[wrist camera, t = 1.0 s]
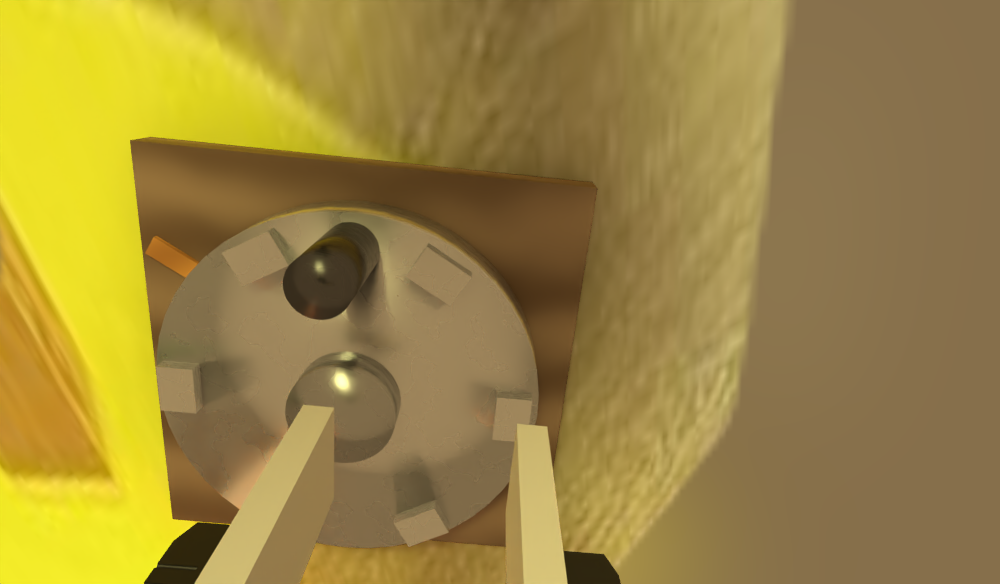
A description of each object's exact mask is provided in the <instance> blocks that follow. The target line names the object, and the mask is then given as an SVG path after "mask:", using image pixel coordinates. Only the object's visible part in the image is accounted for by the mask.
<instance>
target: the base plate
mask: <svg viewBox="0 0 1000 584" xmlns="http://www.w3.org/2000/svg"><path fill="white" fill-rule="evenodd" d="M130 144H131V153H132V161H133V170H134V179H135V188H136V197H137V206H138V215H139V224H140V233H141V241H142V250H143V259H144V268H145V277H146V286H147V295H148V304H149V312H150V321H151V330H152V339H153V348H154V357H155V366H157V363H156V358H157V349H158V340H159V335H160V331H161V328H162V324H163V320H164V317H165V314H166V312H167V310H168V308H169V305H170V303H171V301H172V299H173V297H174V295H175V293H176V292H177V290H178V289H179V287H180V286H181V284H182V283H183V281H184V280H185V278H186V277H187V275H188V274H189V273H190V272H191V271H192V270H193V269H194V268H195V267H196V266H197V264H198V263H199V262H200V261H201V260H202V259H203V258H204V257H205V256H207V255H208V254H209V253H210V252H212V251H213V250H214V249H216V248H217V247H218V246H219V245H221V244H222V243H223V242H225V241H227V240H228V239H230V238H232V237H233V236H235V235H237V234H238V233H240V232H242V231H244V230H245V229H247V228H249V227H250V226H252V225H254V224H256V223H258V222H259V221H261V220H263V219H265V218H266V217H269V216H271V215H274V214H276V213H279V212H282V211H284V210H287V209H289V208H293V207H297V206H302V205H306V204H310V203H315V202H325V201H336V200H348V201H367V202H373V203H379V204H385V205H391V206H394V207H397V208H401V209H404V210H408V211H411V212H414V213H417V214H419V215H421V216H424V217H426V218H428V219H430V220H433V221H435V222H437V223H439V224H441V225H442V226H444V227H446V228H447V229H449V230H451V231H452V232H454V233H456V234H457V235H459V236H461V237H462V238H463V239H464V240H466V241H467V242H468V243H469V244H471V245H472V246H473V247H474V248H476V249H477V250H478V251H479V252H480V253H481V254H482V255H483V256H484V257H485V258H486V259H487V260H488V261H489V262H490V263H491V264H492V265H493V266H494V267H495V268H496V269H497V270H498V272H499V273H500V274H501V276H502V277H503V278H504V280H505V281H506V282H507V284H508V285H509V286H510V288H511V290H512V291H513V293H514V295H515V297H516V298H517V300H518V302H519V304H520V306H521V308H522V310H523V313H524V315H525V318H526V320H527V323H528V326H529V328H530V333H531V337H532V341H533V346H534V351H535V359H536V368H537V378H538V390H539V398H538V413H537V419H536V424H535V425H536V426H547V429H548V437H549V444H550V452H551V460H552V467H553V466H554V459H555V453H556V447H557V440H558V434H559V428H560V421H561V415H562V409H563V403H564V396H565V390H566V384H567V377H568V371H569V365H570V358H571V352H572V346H573V339H574V333H575V327H576V320H577V314H578V308H579V301H580V295H581V289H582V282H583V276H584V270H585V264H586V257H587V251H588V245H589V238H590V232H591V226H592V219H593V213H594V207H595V200H596V194H597V187H596V186H595V185H594V184H593V183H592V182H584V181H574V180H565V179H555V178H545V177H535V176H526V175H516V174H506V173H496V172H487V171H477V170H467V169H457V168H448V167H438V166H428V165H419V164H409V163H399V162H389V161H380V160H370V159H360V158H350V157H341V156H331V155H321V154H311V153H302V152H292V151H282V150H272V149H263V148H253V147H243V146H233V145H224V144H214V143H204V142H194V141H185V140H175V139H165V138H155V137H148V138H142V139H136V140H130ZM156 375H157V373H156ZM158 392H159V390H158ZM159 401H160V399H159ZM160 410H161V408H160ZM161 419H162V428H163V437H164V446H165V455H166V463H167V472H168V481H169V490H170V499H171V508H172V517H173V519H178V520H190V521H202V522H214V523H226V524H231V523H232V521H233V519H234V518H235V516H236V515H237V513H238V511H239V510H240V509H238V508H237V507H236V506H234V505H233V504H232V503H230V502H229V501H228V500H226V499H225V498H224V497H222V496H221V495H220V494H219V493H218V492H217V491H216V490H215V489H214V488H213V487H212V486H211V485H210V484H209V483H207V482H206V481H205V479H204V478H203V477H202V476H201V475H200V474H199V472H198V471H197V470H196V469H195V468H194V466H193V465H192V464H191V463H190V461H189V460H188V458H187V457H186V455H185V454H184V452H183V451H182V449H181V448H180V446H179V445H178V443H177V441H176V439H175V437H174V435H173V433H172V431H171V428H170V426H169V424H168V422H167V419H166V416H165V413H164V411H161ZM508 489H509V482H508V484H507V485H506V486H505V488H504V489H503V490H502V491H501V492H500V493H499V494H498V495H497V496H496V497H495V498H494V499H493V500H492V501H491V502H490V503H489V504H488V505H487V506H486V507H484V508H483V509H482V510H480V511H479V512H478V513H476V514H475V515H474V516H472V517H471V518H469V519H468V520H466V521H464V522H462V523H461V524H459V525H457V526H455V527H454V528H452V529H449V533H446V534H443V535H441V536H438V537H435V538H432V539H430V540H432V541H444V542H456V543H469V544H481V545H493V546H505V547H506V505H507V497H508Z"/></svg>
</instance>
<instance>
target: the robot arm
mask: <svg viewBox="0 0 1000 584" xmlns="http://www.w3.org/2000/svg"><path fill="white" fill-rule="evenodd" d="M333 499H334V407H323V406H312V405H303V406H302V408H301V410H300V411H299V413H298V414H297V416H296V418H295V419H294V421H293V423H292V424H291V426H290V428H289V429H288V431H287V432H286V434H285V436H284V437H283V439H282V441H281V442H280V444H279V446H278V447H277V449H276V451H275V452H274V454H273V455H272V457H271V459H270V460H269V462H268V464H267V465H266V467H265V469H264V470H263V472H262V474H261V475H260V477H259V478H258V480H257V482H256V483H255V485H254V487H253V488H252V490H251V492H250V493H249V495H248V497H247V498H246V500H245V501H244V503H243V505H242V506H241V508H240V510H239V511H238V513H237V515H236V516H235V518H234V519H233V521H232V523H231V524H230V525H223V524H211V523H199V522H198V523H196V524H195V525H194V526H193V527H191V528H190V529H189V530H187V531H186V532H185V533H183V534H182V535H181V536H179V537H178V538H177V539H175V540H174V541H173V542H172V544H171V545H170V547H169V548H168V550H167V551H166V552H165V554H164V555H163V557H162V558H161V559H160V561H159V562H158V565H157V568H154V569H153V571H152V572H151V573H150V575H149V576H148V578H147V579H146V580H145V582H144V584H300V581H301V579H302V576H303V574H304V571H305V569H306V566H307V564H308V561H309V559H310V556H311V554H312V551H313V549H314V546H315V544H316V541H317V539H318V536H319V534H320V531H321V529H322V526H323V524H324V521H325V519H326V516H327V514H328V511H329V509H330V506H331V504H332V501H333ZM506 584H621V583H620V579H619V575H618V574H617V572H616V571H615V569H614V568H613V567H612V565H611V564H610V562H609V561H608V560H607V558H606V557H605V555H604V554H593V553H581V552H569V551H563V545H562V537H561V529H560V521H559V514H558V506H557V498H556V491H555V483H554V475H553V467H552V460H551V452H550V444H549V437H548V429H547V426H536V425H524V424H517V427H516V435H515V443H514V451H513V458H512V466H511V474H510V481H509V489H508V497H507V505H506Z"/></svg>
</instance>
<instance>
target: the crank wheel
mask: <svg viewBox="0 0 1000 584" xmlns="http://www.w3.org/2000/svg"><path fill="white" fill-rule="evenodd" d="M156 363H157V366H156V373H157V383H158V390H159V399H160V408H161V411H164V413H165V416H166V419H167V422H168V424H169V426H170V428H171V431H172V433H173V435H174V437H175V439H176V441H177V443H178V445H179V446H180V448H181V449H182V451H183V452H184V454H185V455H186V457H187V458H188V460H189V461H190V463H191V464H192V465H193V466H194V468H195V469H196V470H197V471H198V472H199V474H200V475H201V476H202V477H203V478H204V479H205V481H206V482H207V483H209V484H210V485H211V486H212V487H213V488H214V489H215V490H216V491H217V492H218V493H219V494H220V495H221V496H222V497H224V498H225V499H226V500H228V501H229V502H230V503H232V504H233V505H234V506H236V507H237V508H238V509H240V508H241V506H242V505H243V503H244V501H245V500H246V498H247V497H248V495H249V493H250V492H251V490H252V488H253V487H254V485H255V483H256V482H257V480H258V478H259V477H260V475H261V474H262V472H263V470H264V469H265V467H266V465H267V464H268V462H269V460H270V459H271V457H272V455H273V454H274V452H275V451H276V449H277V447H278V446H279V444H280V442H281V441H282V439H283V437H284V436H285V434H286V432H287V431H288V429H289V428H290V426H291V424H292V423H293V421H294V419H295V418H296V416H297V414H298V413H299V411H300V410H301V408H302V406H303V405H312V406H323V407H334V499H333V501H332V504H331V506H330V509H329V511H328V514H327V516H326V519H325V521H324V524H323V526H322V529H321V531H320V534H319V536H318V539H317V541H316V542H317V543H321V544H326V545H334V546H341V547H355V548H375V547H389V546H396V545H401V544H407V545H408V547H410V546H413V545H416V544H418V543H421V542H424V541H427V540H430V539H432V538H435V537H438V536H441V535H443V534H446V533H449V529H452V528H454V527H455V526H457V525H459V524H461V523H462V522H464V521H466V520H468V519H469V518H471V517H472V516H474V515H475V514H476V513H478V512H479V511H480V510H482V509H483V508H484V507H486V506H487V505H488V504H489V503H490V502H491V501H492V500H493V499H494V498H495V497H496V496H497V495H498V494H499V493H500V492H501V491H502V490H503V489H504V488H505V486H506V485H507V484H508V482H509V481H510V474H511V466H512V458H513V451H514V443H515V435H516V427H517V424H524V425H535V424H536V419H537V413H538V398H539V390H538V378H537V368H536V359H535V351H534V346H533V341H532V337H531V333H530V328H529V326H528V323H527V320H526V318H525V315H524V313H523V310H522V308H521V306H520V304H519V302H518V300H517V298H516V297H515V295H514V293H513V291H512V290H511V288H510V286H509V285H508V284H507V282H506V281H505V280H504V278H503V277H502V276H501V274H500V273H499V272H498V270H497V269H496V268H495V267H494V266H493V265H492V264H491V263H490V262H489V261H488V260H487V259H486V258H485V257H484V256H483V255H482V254H481V253H480V252H479V251H478V250H477V249H476V248H474V247H473V246H472V245H471V244H469V243H468V242H467V241H466V240H464V239H463V238H462V237H461V236H459V235H457V234H456V233H454V232H452V231H451V230H449V229H447V228H446V227H444V226H442V225H441V224H439V223H437V222H435V221H433V220H430V219H428V218H426V217H424V216H421V215H419V214H417V213H414V212H411V211H408V210H404V209H401V208H397V207H394V206H391V205H385V204H379V203H373V202H367V201H348V200H336V201H325V202H315V203H310V204H306V205H302V206H297V207H293V208H289V209H287V210H284V211H282V212H279V213H276V214H274V215H271V216H269V217H266V218H265V219H263V220H261V221H259V222H258V223H256V224H254V225H252V226H250V227H249V228H247V229H245V230H244V231H242V232H240V233H238V234H237V235H235V236H233V237H232V238H230V239H228V240H227V241H225V242H223V243H222V244H221V245H219V246H218V247H217V248H216V249H214V250H213V251H212V252H210V253H209V254H208V255H207V256H205V257H204V258H203V259H202V260H201V261H200V262H199V263H198V264H197V266H196V267H195V268H194V269H193V270H192V271H191V272H190V273H189V274H188V275H187V277H186V278H185V280H184V281H183V283H182V284H181V286H180V287H179V289H178V290H177V292H176V293H175V295H174V297H173V299H172V301H171V303H170V305H169V308H168V310H167V312H166V314H165V317H164V320H163V324H162V328H161V331H160V335H159V340H158V349H157V358H156Z"/></svg>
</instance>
